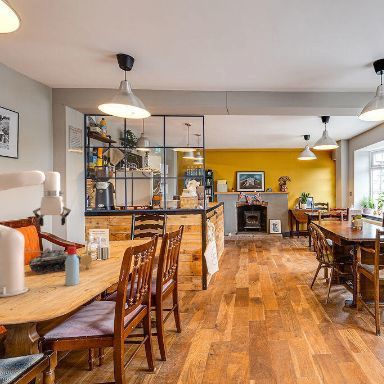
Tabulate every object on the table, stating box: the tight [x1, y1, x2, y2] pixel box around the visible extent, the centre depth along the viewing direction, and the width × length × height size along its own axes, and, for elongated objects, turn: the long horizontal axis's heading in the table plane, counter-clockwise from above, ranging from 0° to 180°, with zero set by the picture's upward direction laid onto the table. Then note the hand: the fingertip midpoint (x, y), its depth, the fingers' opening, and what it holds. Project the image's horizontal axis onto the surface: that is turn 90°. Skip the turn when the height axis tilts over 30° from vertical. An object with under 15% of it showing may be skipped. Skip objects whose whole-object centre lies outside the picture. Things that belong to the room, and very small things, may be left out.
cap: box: [67, 246, 77, 255], centre depth 156 cm, size 4×4×4 cm
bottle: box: [64, 253, 80, 287], centre depth 156 cm, size 6×6×20 cm
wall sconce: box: [80, 230, 98, 270], centre depth 187 cm, size 14×10×25 cm
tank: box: [25, 247, 83, 275], centre depth 185 cm, size 16×31×15 cm, turn 132°
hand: (52, 225), depth 155 cm, fingers open, 9 cm apart
